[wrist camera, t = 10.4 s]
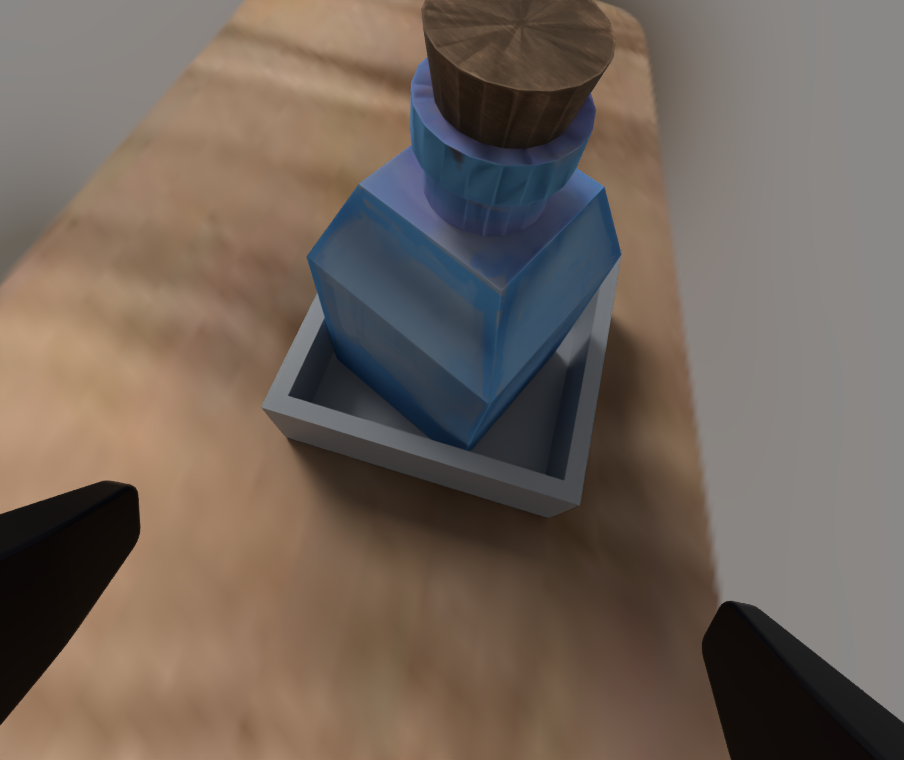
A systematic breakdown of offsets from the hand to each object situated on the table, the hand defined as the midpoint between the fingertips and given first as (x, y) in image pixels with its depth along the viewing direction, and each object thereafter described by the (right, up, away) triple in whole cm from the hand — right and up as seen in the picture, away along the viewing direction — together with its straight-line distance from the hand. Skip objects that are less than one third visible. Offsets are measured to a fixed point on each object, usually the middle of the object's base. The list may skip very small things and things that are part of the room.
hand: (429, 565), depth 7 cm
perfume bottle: (0, +4, +12) cm, 12 cm away
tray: (0, +4, +12) cm, 13 cm away
